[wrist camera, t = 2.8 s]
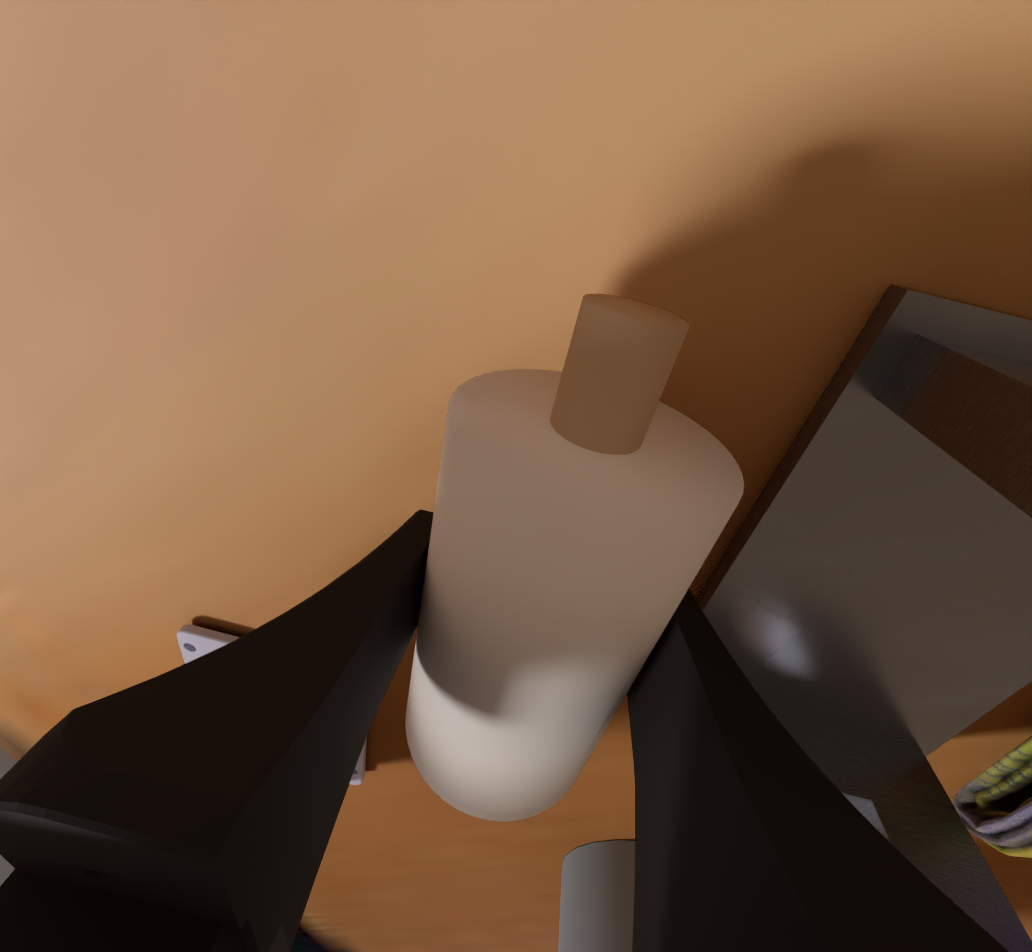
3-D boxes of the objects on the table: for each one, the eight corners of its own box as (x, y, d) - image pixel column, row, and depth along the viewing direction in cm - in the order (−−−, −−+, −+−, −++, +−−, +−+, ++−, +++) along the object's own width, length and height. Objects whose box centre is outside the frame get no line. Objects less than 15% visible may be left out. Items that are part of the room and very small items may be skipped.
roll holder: (888, 759, 17) (1008, 995, 12) (637, 694, 17) (655, 901, 12) (1362, 401, 9) (2269, 658, 4) (891, 284, 9) (1233, 398, 4)
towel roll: (569, 693, 16) (564, 874, 12) (428, 659, 16) (372, 829, 12) (750, 312, 9) (895, 424, 5) (497, 249, 9) (419, 308, 5)
